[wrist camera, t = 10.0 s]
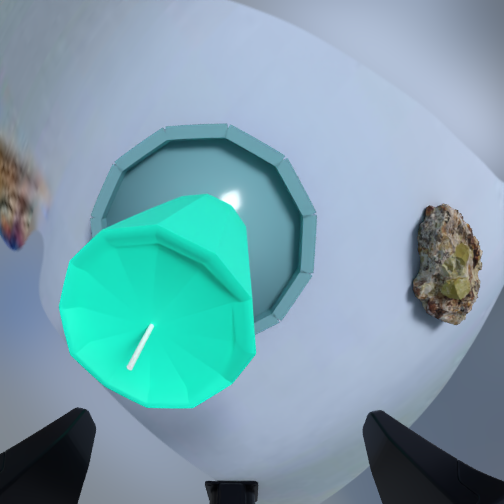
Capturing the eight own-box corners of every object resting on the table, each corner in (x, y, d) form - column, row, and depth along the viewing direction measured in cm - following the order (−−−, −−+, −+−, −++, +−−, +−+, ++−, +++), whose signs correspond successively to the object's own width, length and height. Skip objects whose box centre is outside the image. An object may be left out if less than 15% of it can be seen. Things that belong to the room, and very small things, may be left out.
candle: (174, 299, 18) (106, 447, 7) (138, 213, 17) (-3, 284, 5) (261, 271, 18) (291, 424, 6) (229, 178, 16) (199, 189, 5)
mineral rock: (498, 291, 19) (454, 351, 17) (465, 284, 23) (419, 335, 21) (478, 180, 16) (429, 230, 15) (440, 183, 20) (385, 227, 19)
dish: (301, 330, 21) (307, 345, 19) (118, 327, 20) (109, 340, 18) (312, 130, 17) (320, 125, 15) (101, 138, 16) (87, 135, 14)
